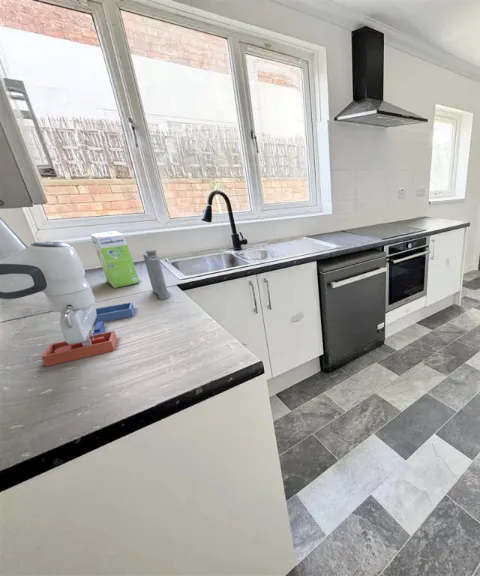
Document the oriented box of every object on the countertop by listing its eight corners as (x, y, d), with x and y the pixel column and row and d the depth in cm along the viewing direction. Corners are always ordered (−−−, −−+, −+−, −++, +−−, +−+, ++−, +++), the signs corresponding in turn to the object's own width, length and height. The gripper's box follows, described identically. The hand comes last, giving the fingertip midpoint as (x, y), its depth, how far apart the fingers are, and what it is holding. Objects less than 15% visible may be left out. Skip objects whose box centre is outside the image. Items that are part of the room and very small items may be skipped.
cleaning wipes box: (105, 281, 154) (89, 233, 146) (131, 276, 162) (117, 230, 154) (113, 289, 143) (96, 237, 135) (140, 283, 151) (125, 234, 143)
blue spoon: (94, 330, 103) (91, 323, 102) (110, 327, 105) (107, 320, 104) (89, 343, 95) (85, 335, 94) (105, 340, 97) (103, 332, 96)
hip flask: (152, 292, 139) (140, 248, 132) (163, 289, 141) (152, 246, 135) (160, 301, 128) (148, 254, 121) (172, 298, 131) (160, 252, 124)
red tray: (46, 368, 83) (41, 356, 81) (54, 354, 89) (50, 344, 88) (114, 351, 90) (111, 341, 89) (117, 340, 96) (114, 330, 95)
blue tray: (81, 328, 105) (77, 318, 104) (85, 319, 111) (82, 310, 110) (133, 317, 113) (130, 308, 111) (134, 310, 119) (132, 302, 118)
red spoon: (107, 342, 93) (104, 334, 92) (105, 348, 90) (102, 339, 89) (58, 354, 88) (54, 345, 87) (54, 360, 85) (50, 351, 84)
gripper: (80, 309, 78) (98, 356, 83) (93, 288, 94) (107, 328, 99) (45, 315, 75) (66, 364, 80) (65, 292, 91) (81, 334, 96)
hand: (89, 344), depth 89 cm, fingers closed on red spoon
